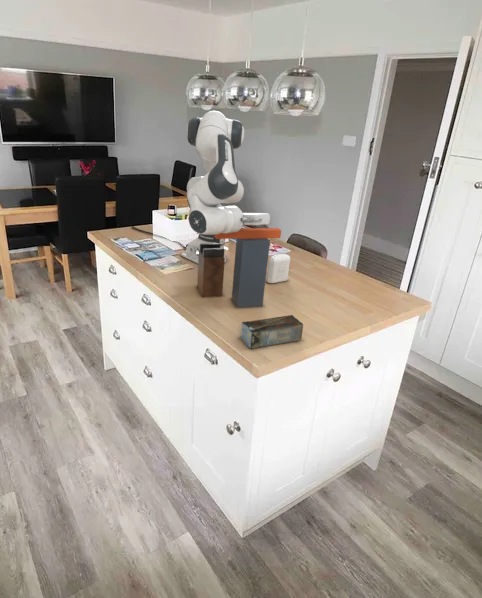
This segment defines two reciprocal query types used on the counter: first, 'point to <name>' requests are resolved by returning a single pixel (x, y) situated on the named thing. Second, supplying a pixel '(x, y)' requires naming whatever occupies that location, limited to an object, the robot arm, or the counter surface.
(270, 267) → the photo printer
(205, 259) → the wood grain post
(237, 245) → the stand
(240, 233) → the orange bar
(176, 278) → the counter surface
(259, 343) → the beverage carton
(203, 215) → the robot arm
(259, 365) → the counter surface
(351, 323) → the counter surface
